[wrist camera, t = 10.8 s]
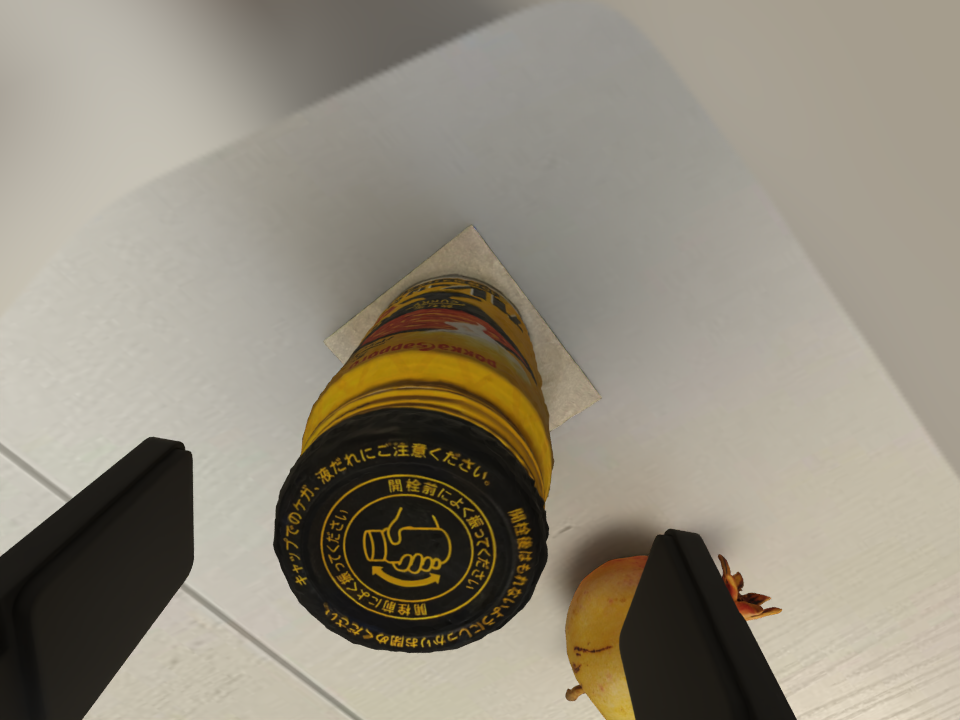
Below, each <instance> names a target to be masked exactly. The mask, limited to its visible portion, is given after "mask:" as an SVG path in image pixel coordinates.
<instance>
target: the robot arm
mask: <svg viewBox="0 0 960 720" xmlns="http://www.w3.org/2000/svg"><path fill="white" fill-rule="evenodd" d="M193 561H194V526H193V458H192V454H191V452H190V451H187V450H185V446H184V444H183V443H182V442H179V441H174V440H168V439H162V438H157V437H149V438H147V439H146V440H144V441H143V442H142V443H141V444H139V445H138V446H137V447H136V448H134V449H133V450H132V451H131V452H129V453H128V454H127V455H126V456H124V457H123V458H122V459H121V460H119V461H118V462H117V463H116V464H115V465H113V466H112V467H111V468H110V469H108V470H107V471H106V472H105V473H103V474H102V475H101V476H100V477H98V478H97V479H96V480H95V481H93V482H92V483H91V484H90V485H88V486H87V487H86V488H85V489H84V490H82V491H81V492H80V493H79V494H77V495H76V496H75V497H74V498H72V499H71V500H70V501H69V502H67V503H66V504H65V505H64V506H62V507H61V508H60V509H59V510H58V511H56V512H55V513H54V514H53V515H51V516H50V517H49V518H48V519H46V520H45V521H44V522H43V523H41V524H40V525H39V526H38V527H36V528H35V529H34V530H33V531H32V532H30V533H29V534H28V535H27V536H25V537H24V538H23V539H22V540H20V541H19V542H18V543H17V544H15V545H14V546H13V547H12V548H10V549H9V550H8V551H7V552H6V553H4V554H3V555H2V556H1V557H0V720H82V719H83V718H84V716H85V715H86V714H87V712H88V711H89V710H90V708H91V707H92V706H93V704H94V703H95V701H96V700H97V699H98V697H99V696H100V695H101V693H102V692H103V691H104V689H105V688H106V687H107V685H108V684H109V683H110V681H111V680H112V679H113V677H114V676H115V674H116V673H117V672H118V670H119V669H120V668H121V666H122V665H123V664H124V662H125V661H126V660H127V658H128V657H129V656H130V654H131V653H132V651H133V650H134V649H135V647H136V646H137V645H138V643H139V642H140V641H141V639H142V638H143V637H144V635H145V634H146V633H147V631H148V630H149V629H150V627H151V626H152V624H153V623H154V622H155V620H156V619H157V618H158V616H159V615H160V614H161V612H162V611H163V610H164V608H165V607H166V606H167V604H168V603H169V602H170V600H171V599H172V597H173V596H174V595H175V593H176V592H177V591H178V589H179V588H180V587H181V585H182V584H183V583H184V581H185V580H186V578H187V577H188V575H189V573H190V571H191V569H192V566H193ZM619 650H620V655H621V660H622V664H623V668H624V673H625V677H626V681H627V686H628V690H629V694H630V698H631V703H632V707H633V711H634V716H635V720H797V719H796V717H795V715H794V713H793V711H792V709H791V707H790V706H789V704H788V702H787V700H786V698H785V696H784V694H783V692H782V690H781V688H780V686H779V684H778V682H777V680H776V678H775V676H774V674H773V673H772V671H771V669H770V667H769V665H768V663H767V661H766V659H765V657H764V655H763V653H762V651H761V649H760V647H759V645H758V643H757V641H756V640H755V638H754V636H753V634H752V632H751V630H750V628H749V626H748V624H747V622H746V620H745V619H744V617H743V616H742V614H741V613H740V612H739V610H738V608H737V606H736V604H735V602H734V600H733V598H732V596H731V594H730V592H729V590H728V588H727V587H726V585H725V583H724V581H723V579H722V577H721V575H720V573H719V571H718V569H717V567H716V565H715V563H714V561H713V559H712V557H711V555H710V553H709V551H708V549H707V547H706V545H705V544H704V542H703V540H702V538H701V536H700V535H699V534H697V533H692V532H686V531H680V530H675V529H668V530H667V531H666V532H665V534H664V535H661V534H659V535H657V536H656V538H655V540H654V543H653V545H652V548H651V551H650V553H649V556H648V559H647V561H646V564H645V567H644V570H643V572H642V575H641V578H640V580H639V583H638V586H637V589H636V591H635V594H634V597H633V599H632V602H631V605H630V607H629V610H628V613H627V616H626V618H625V621H624V624H623V626H622V629H621V632H620V637H619Z"/></svg>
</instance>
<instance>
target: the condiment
mask: <svg viewBox="0 0 960 720" xmlns="http://www.w3.org/2000/svg"><path fill="white" fill-rule="evenodd" d="M323 342H324V343H325V345H326V346H327V347H328V348H329V349H330V350H331V351H332V352H333V353H334V354H335V356H336V357H337V358H338V359H339V360H340V361H341V362H342V363H343V364H344V366H343V367H342V368H341V370H340V371H339V372H338V373H337V374H336V375H335V376H334V377H333V378H332V380H331V381H330V382H329V383H328V385H327V386H326V388H325V389H324V391H323V392H322V393H321V394H320V396H319V398H318V400H317V401H316V402H315V404H314V405H313V407H312V410H311V413H310V415H309V417H308V420H307V424H306V429H305V432H304V435H303V438H302V451H301V455H300V457H299V458H298V460H297V461H296V463H295V465H294V466H293V467H292V468H291V469H290V474H289V475H288V476H287V478H286V480H285V482H284V484H283V486H282V488H281V490H280V494H279V500H278V503H277V505H276V519H275V532H274V542H273V547H274V551H275V553H276V556H277V558H278V560H279V563H280V566H281V569H282V571H283V573H284V575H285V577H286V579H287V581H288V584H289V586H290V589H291V590H292V592H293V593H294V595H295V596H296V598H297V599H298V601H299V603H300V604H301V605H302V606H304V607H305V608H306V609H307V611H308V612H309V613H310V614H311V615H313V616H314V617H315V618H316V619H317V620H319V621H320V622H321V623H322V624H323V625H325V627H326V628H327V629H329V630H330V631H332V632H334V633H336V634H338V635H340V636H342V637H343V638H345V639H347V640H348V641H350V642H351V643H353V644H359V645H362V646H365V647H368V648H371V649H375V650H388V651H394V652H398V651H400V652H407V653H431V652H434V651H445V650H452V649H458V648H460V647H463V646H465V645H467V644H470V643H472V642H475V641H477V640H480V639H482V638H483V637H485V636H486V635H487V634H489V633H491V632H494V631H496V630H498V629H500V628H502V627H503V626H504V625H505V624H506V623H507V622H509V621H510V620H511V619H512V618H513V617H514V616H515V615H516V614H517V613H518V612H519V611H521V610H522V609H523V608H524V606H525V605H526V604H527V603H528V602H529V600H530V599H531V597H532V595H533V592H534V590H535V587H536V584H537V582H538V580H539V578H540V575H541V573H542V571H543V569H544V568H545V565H546V563H547V558H548V548H547V544H546V541H547V539H548V535H549V526H548V524H547V521H546V510H545V501H546V499H547V497H548V494H549V490H550V483H551V474H552V469H553V465H554V458H553V451H552V444H551V439H550V432H551V431H552V430H553V429H555V428H557V427H558V426H560V425H562V424H563V423H564V422H566V421H567V420H568V419H570V418H571V417H573V416H574V415H576V414H578V413H580V412H582V411H583V410H585V409H586V408H588V407H589V406H591V405H593V404H594V403H595V402H597V401H599V400H600V399H602V397H601V396H600V395H599V393H598V392H597V391H596V389H595V388H594V387H593V386H592V384H591V383H590V382H589V380H588V379H587V378H586V376H585V375H584V373H583V372H582V371H581V369H580V368H579V367H578V366H577V364H576V363H575V362H574V360H573V359H572V358H571V356H570V355H569V354H568V353H567V351H566V350H565V348H564V347H563V346H562V344H561V343H560V342H559V340H558V339H557V338H556V336H555V335H554V334H553V332H552V331H551V330H550V328H549V327H548V326H547V324H546V323H545V322H544V320H543V319H542V317H541V316H540V315H539V313H538V312H537V311H536V309H535V308H534V307H533V305H532V304H531V303H530V301H529V300H528V299H527V297H526V296H525V295H524V293H523V292H522V291H521V289H520V288H519V287H518V285H517V284H516V283H515V281H514V280H513V279H512V277H511V276H510V275H509V273H508V272H507V271H506V269H505V268H504V267H503V265H502V264H501V263H500V261H499V260H498V259H497V258H496V256H495V255H494V254H493V252H492V251H491V249H490V248H489V247H488V245H487V244H486V243H485V241H484V240H483V239H482V238H481V236H480V235H479V234H478V232H477V231H476V230H475V229H474V227H473V226H472V225H470V226H469V227H468V228H466V229H465V230H464V231H463V232H461V233H460V234H459V235H458V236H456V237H455V238H454V239H453V240H451V241H450V242H449V243H447V244H446V245H444V246H443V247H442V248H441V249H440V250H439V251H437V252H436V253H435V254H433V255H432V256H431V257H430V258H428V259H427V260H426V261H424V262H423V263H422V264H421V265H419V266H418V267H417V268H416V269H414V270H413V271H412V272H410V273H409V274H408V275H407V276H405V277H404V278H403V279H402V280H400V281H399V282H398V283H397V284H395V285H394V286H393V287H391V288H390V289H389V290H388V291H386V292H385V293H384V294H383V295H381V296H380V297H379V298H378V299H376V300H375V301H374V302H372V303H371V304H370V305H369V306H367V307H366V308H365V309H364V310H362V311H361V312H360V313H358V314H357V315H356V316H355V317H354V318H353V319H351V320H350V321H349V322H347V323H346V324H345V325H344V326H342V327H341V328H340V329H338V330H337V331H336V332H335V333H333V334H332V335H331V336H330V337H328V338H327V339H326V340H324V341H323Z"/></svg>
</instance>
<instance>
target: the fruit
mask: <svg viewBox="0 0 960 720" xmlns="http://www.w3.org/2000/svg"><path fill="white" fill-rule="evenodd" d="M718 558H719V560H720V562H721V566H722V569H723V576H722V579H723V581H724V583H725V585H726V587H727V588H728V590H729V592H730V594H731V596H732V598H733V600H734V602H735V604H736V606H737V608H738V610H739V612H740V613H741V614H742V616H743V617H744V619H745V620H746V621H748V620H753V619H758V618H761V617H764V616H768V615H773V614H778V613H780V612H781V611H782V609H780V608H776V607H772V608H767V609H764V610H763V608H762V607H761V606H760V605H761V604H763V603H764V602H766V601H768V600H770V599H771V598H770V597H768V596H765V595H761V594H756V593H748V594H746V595H741V594H740V593H739V591H743V590H742V589H741V588H743V586H744V582H743V578H742V576H741V574H740V573H739V572H737V573H736V574H735V575H733V576H732V575H730V573H731V572H730V568H729V565H728V563H727V560H726V559H725V558H724V557H723V556H722V555H720V554H719V555H718ZM647 559H648V556H642V555H641V556H633V557H627V558H619V559H613V560H610V561H607V562H606V563H604V564H602V565H601V566H599V567H598V568H597V569H595V570H594V571H592V572H591V573H590V574H588V575H587V576H586V577H585V578H584V579H583V580H582V581H581V583H580V585H579V586H578V588H577V590H576V592H575V594H574V596H573V599H572V601H571V604H570V606H569V610H568V614H567V620H566V627H565V633H566V644H567V655H568V658H569V661H570V664H571V667H572V670H573V672H574V675H575V677H576V679H577V681H578V683H579V684H580V685H578V686H575V687H574V688H572V689H571V690H570V689H567V692H566V699H567V700H568V701H575V700H576V699H577V698H578V697H579V696H580V695H581V694H584V693H586V694H587V696H588V697H589V698H590V700H591V701H592V702H593V703H594V705H595V706H596V707H597V709H598V710H599V711H600V713H601V714H602V715H603V717H604V718H605V719H606V720H635V716H634V711H633V707H632V703H631V698H630V694H629V690H628V686H627V681H626V677H625V673H624V668H623V664H622V660H621V655H620V650H619V637H620V632H621V629H622V626H623V624H624V621H625V618H626V616H627V613H628V610H629V607H630V605H631V602H632V599H633V597H634V594H635V591H636V589H637V586H638V583H639V580H640V578H641V575H642V572H643V570H644V567H645V564H646V561H647Z"/></svg>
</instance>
